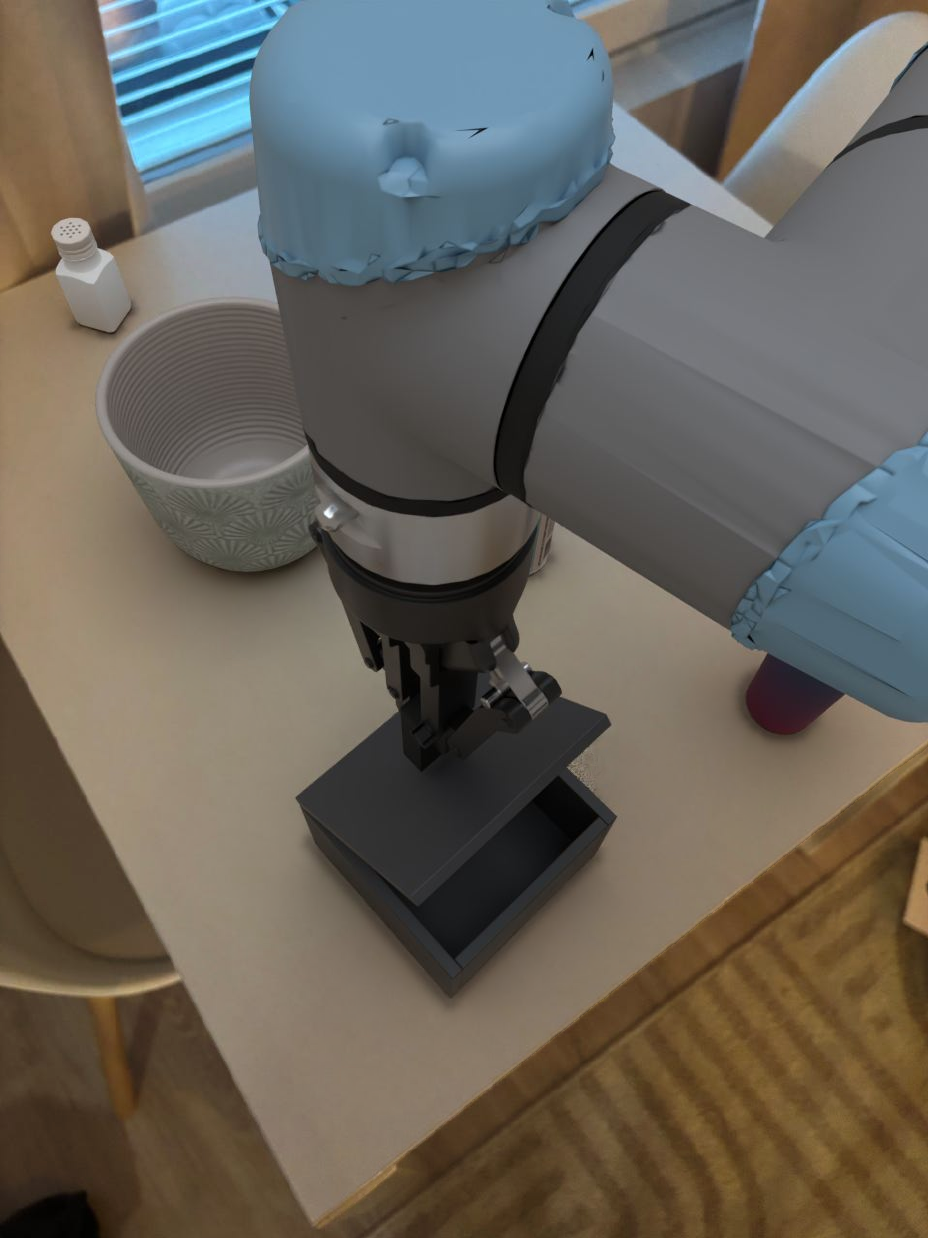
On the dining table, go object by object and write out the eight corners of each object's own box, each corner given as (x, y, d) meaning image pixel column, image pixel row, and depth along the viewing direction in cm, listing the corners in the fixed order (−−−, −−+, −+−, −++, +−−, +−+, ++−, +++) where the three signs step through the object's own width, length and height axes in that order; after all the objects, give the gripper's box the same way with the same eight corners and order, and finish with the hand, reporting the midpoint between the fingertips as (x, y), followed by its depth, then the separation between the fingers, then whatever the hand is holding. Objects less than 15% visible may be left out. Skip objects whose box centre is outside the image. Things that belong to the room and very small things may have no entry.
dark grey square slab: (612, 725, 49) (606, 713, 49) (418, 907, 44) (410, 896, 44) (466, 667, 61) (460, 658, 61) (301, 807, 56) (294, 797, 56)
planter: (379, 583, 74) (367, 463, 61) (160, 621, 72) (98, 506, 59) (345, 419, 82) (328, 280, 69) (147, 448, 80) (89, 311, 66)
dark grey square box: (595, 853, 65) (617, 816, 57) (450, 999, 60) (452, 980, 52) (459, 718, 69) (463, 666, 61) (314, 843, 64) (298, 804, 57)
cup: (779, 764, 68) (863, 676, 55) (715, 693, 71) (779, 594, 57) (844, 713, 70) (940, 617, 57) (779, 646, 73) (856, 539, 59)
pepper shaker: (75, 325, 86) (36, 239, 78) (96, 296, 88) (61, 209, 80) (114, 336, 86) (80, 251, 77) (135, 306, 88) (103, 220, 79)
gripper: (222, 443, 33) (303, 709, 53) (482, 699, 28) (461, 880, 49) (386, 337, 35) (403, 630, 56) (647, 557, 31) (561, 786, 52)
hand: (430, 747), depth 52 cm, fingers closed
